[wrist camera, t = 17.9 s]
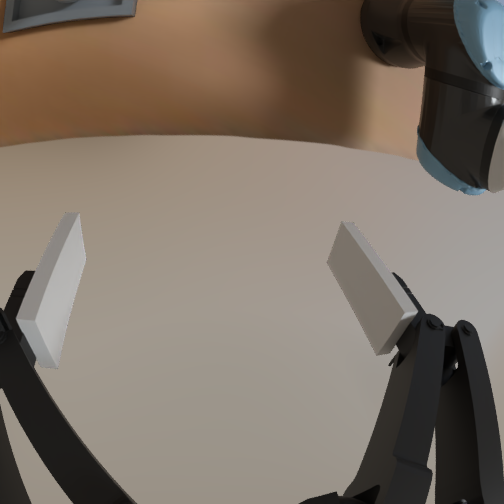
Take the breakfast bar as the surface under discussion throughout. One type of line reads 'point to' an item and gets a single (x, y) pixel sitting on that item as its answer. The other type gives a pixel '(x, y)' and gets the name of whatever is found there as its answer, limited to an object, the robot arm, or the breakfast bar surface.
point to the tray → (61, 12)
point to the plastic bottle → (66, 1)
